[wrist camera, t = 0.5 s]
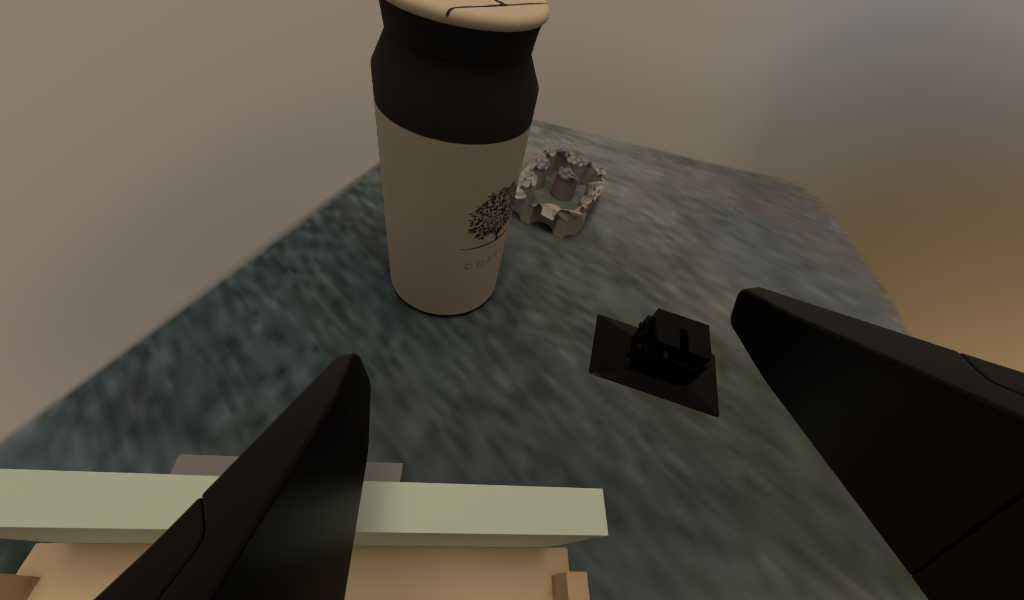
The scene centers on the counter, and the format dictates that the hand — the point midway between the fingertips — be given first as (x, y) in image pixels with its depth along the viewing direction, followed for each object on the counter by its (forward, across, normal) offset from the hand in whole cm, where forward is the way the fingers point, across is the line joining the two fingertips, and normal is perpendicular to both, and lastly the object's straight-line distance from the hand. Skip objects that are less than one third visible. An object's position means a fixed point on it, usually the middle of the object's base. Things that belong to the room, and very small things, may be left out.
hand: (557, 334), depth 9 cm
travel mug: (+19, +4, +9) cm, 22 cm away
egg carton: (+30, -8, +9) cm, 32 cm away
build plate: (+12, -10, +16) cm, 22 cm away
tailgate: (+1, +9, +10) cm, 14 cm away
